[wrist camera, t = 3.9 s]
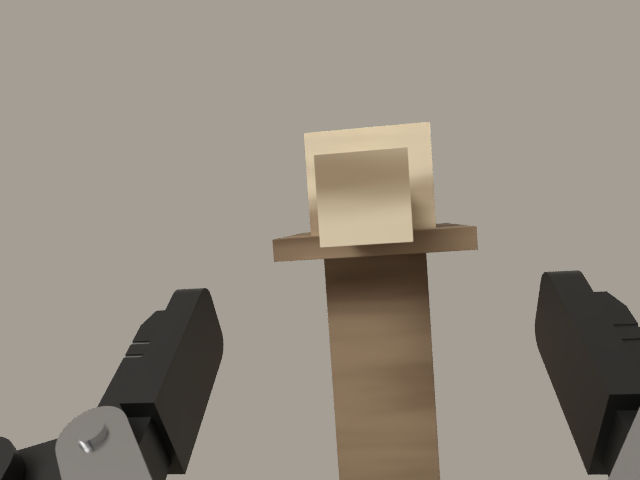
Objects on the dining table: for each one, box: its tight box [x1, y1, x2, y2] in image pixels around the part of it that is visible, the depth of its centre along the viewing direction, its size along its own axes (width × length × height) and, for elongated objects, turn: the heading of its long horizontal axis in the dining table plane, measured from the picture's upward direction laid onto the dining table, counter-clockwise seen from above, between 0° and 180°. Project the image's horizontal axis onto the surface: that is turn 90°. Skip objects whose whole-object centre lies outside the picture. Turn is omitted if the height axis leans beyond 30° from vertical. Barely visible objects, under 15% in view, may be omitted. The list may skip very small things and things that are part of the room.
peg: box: [304, 122, 436, 247], centre depth 22 cm, size 17×6×5 cm, turn 173°
